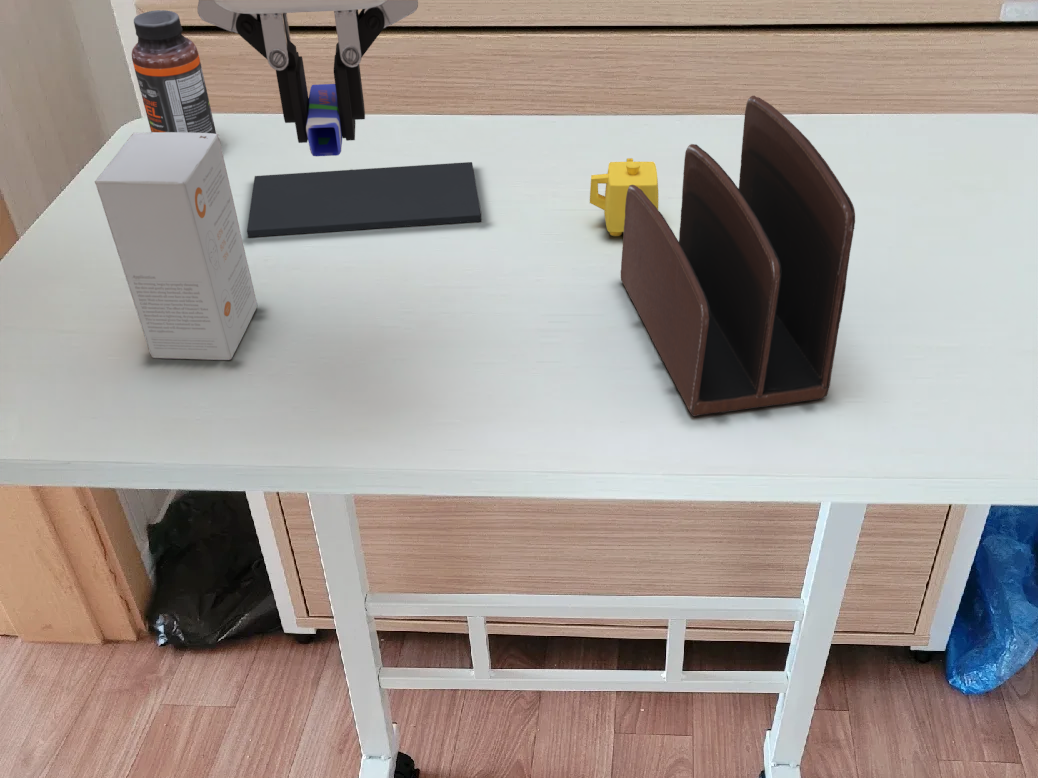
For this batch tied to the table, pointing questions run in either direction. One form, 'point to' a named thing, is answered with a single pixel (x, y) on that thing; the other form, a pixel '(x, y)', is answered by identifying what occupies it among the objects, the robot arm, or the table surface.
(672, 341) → the letter holder
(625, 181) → the teapot
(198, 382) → the table surface
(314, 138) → the eraser
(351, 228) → the mat
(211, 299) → the small box
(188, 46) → the supplement bottle
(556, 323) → the table surface
